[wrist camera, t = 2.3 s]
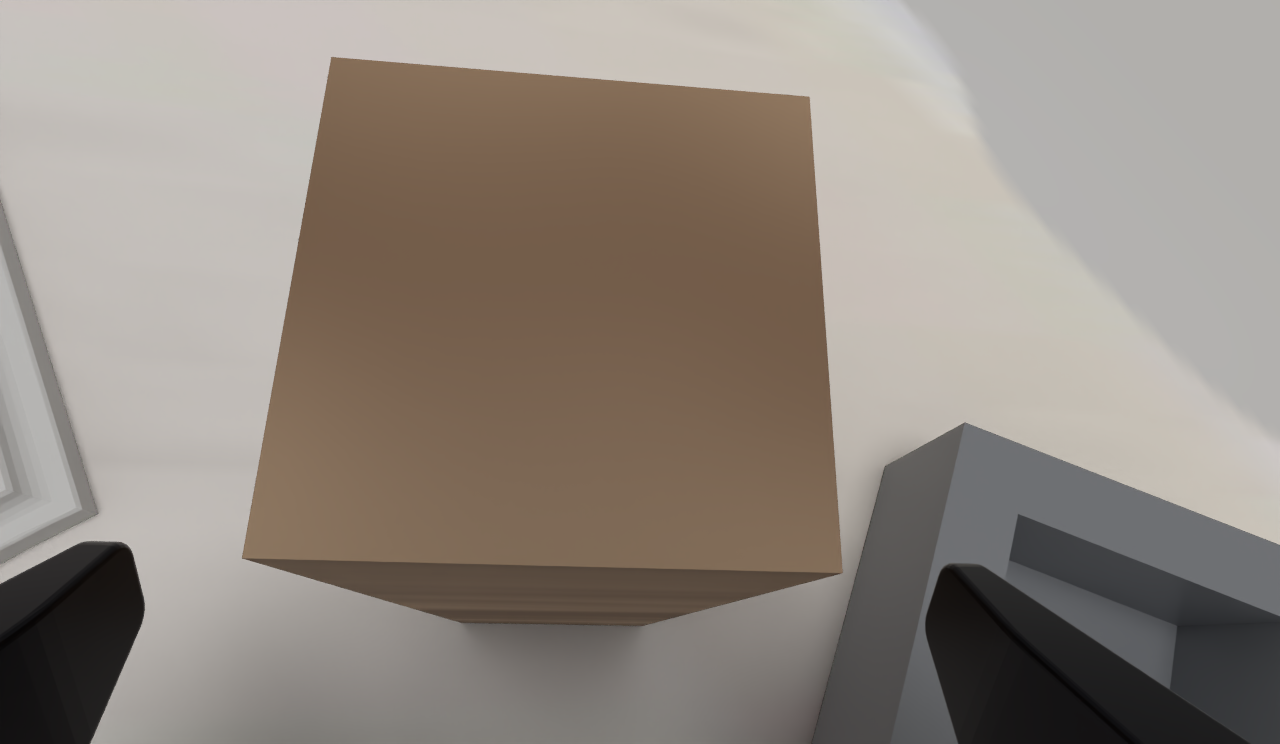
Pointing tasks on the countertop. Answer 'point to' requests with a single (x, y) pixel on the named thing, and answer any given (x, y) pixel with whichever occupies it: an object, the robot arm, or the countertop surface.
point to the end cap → (1052, 587)
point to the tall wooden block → (552, 350)
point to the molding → (32, 425)
